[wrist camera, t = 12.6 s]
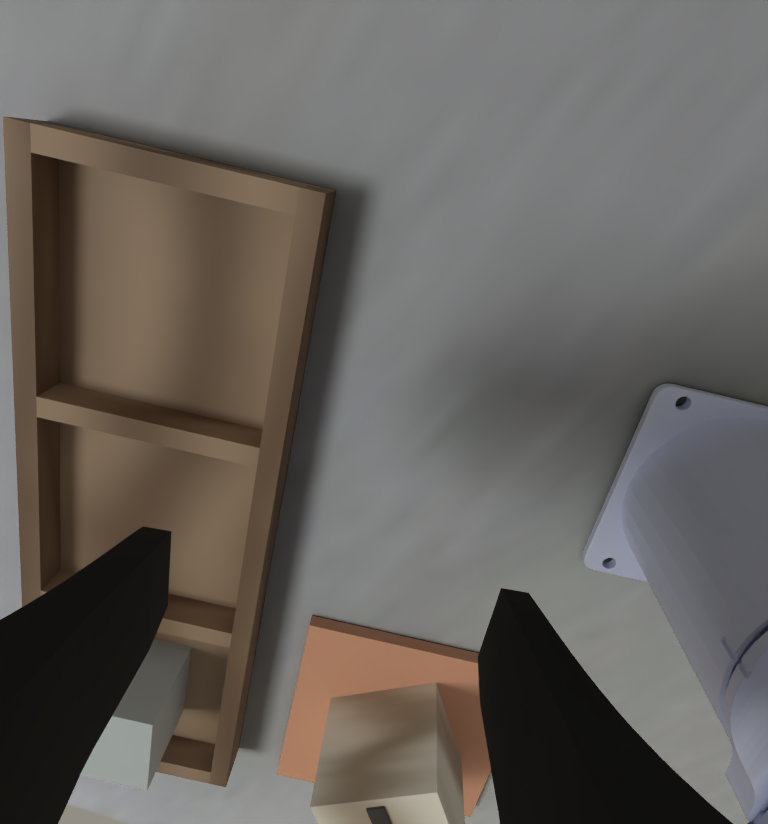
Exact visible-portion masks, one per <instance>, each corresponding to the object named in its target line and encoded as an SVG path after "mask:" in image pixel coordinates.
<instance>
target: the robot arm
mask: <svg viewBox="0 0 768 824" xmlns="http://www.w3.org/2000/svg"><path fill="white" fill-rule="evenodd" d="M681 397H687V400H686V402H685V403H684V404H683V405H681V406H675V404H676V401H677V400H678V399H679V398H681ZM171 532H172V531H167V530H161V529H155V528H150V527H144V526H143V527H141V528H140V529H138V530H137V531H135V532H134V533H132V534H131V535H129V536H128V537H127V538H125V539H124V540H122V541H121V542H120V543H118V544H117V545H115V546H114V547H113V548H111V549H110V550H108V551H107V552H106V553H104V554H103V555H101V556H100V557H99V558H97V559H96V560H94V561H93V562H91V563H90V564H89V565H87V566H86V567H84V568H83V569H81V570H80V571H78V572H77V573H75V574H74V575H72V576H71V577H69V578H68V579H66V580H65V581H63V582H62V583H60V584H59V585H57V586H56V587H54V588H53V589H51V590H49V591H48V592H46V593H45V594H43V595H41V596H40V597H38V598H36V599H35V600H33V601H32V602H30V603H28V604H27V605H25V606H23V607H22V608H20V609H19V610H17V611H15V612H13V613H12V614H10V615H8V616H6V617H5V618H3V619H1V620H0V824H58V822H59V820H60V818H61V816H62V814H63V811H64V809H65V807H66V805H67V803H68V800H69V798H70V796H71V794H72V791H73V789H74V787H75V785H76V783H77V780H78V778H79V776H80V774H81V772H82V770H83V768H84V766H85V764H86V762H87V760H88V758H89V756H90V755H91V753H92V751H93V749H94V747H95V745H96V744H97V742H98V740H99V738H100V737H101V735H102V733H103V731H104V729H105V728H106V726H107V724H108V722H109V721H110V719H111V717H112V715H113V714H114V712H115V710H116V708H117V707H118V705H119V703H120V701H121V700H122V698H123V696H124V694H125V693H126V691H127V689H128V687H129V685H130V684H131V682H132V680H133V678H134V677H135V675H136V673H137V671H138V669H139V668H140V666H141V664H142V662H143V660H144V659H145V657H146V655H147V653H148V651H149V649H150V647H151V645H152V642H153V640H154V638H155V636H156V633H157V631H158V628H159V626H160V624H161V621H162V619H163V616H164V614H165V611H166V609H167V606H168V592H169V572H170V552H171ZM582 558H583V561H584V564H585V565H586V566H587V567H588V568H589V569H592V570H596V571H600V572H604V573H609V574H613V575H618V576H622V577H626V578H631V579H635V580H639V581H644V582H648V583H649V585H650V587H651V589H652V591H653V593H654V595H655V596H656V598H657V600H658V602H659V604H660V606H661V608H662V610H663V612H664V614H665V616H666V618H667V620H668V622H669V624H670V626H671V627H672V629H673V631H674V633H675V635H676V637H677V639H678V641H679V643H680V645H681V647H682V649H683V651H684V653H685V655H686V656H687V658H688V660H689V662H690V664H691V666H692V668H693V670H694V672H695V674H696V676H697V678H698V680H699V682H700V684H701V685H702V687H703V689H704V691H705V693H706V695H707V697H708V699H709V701H710V703H711V705H712V707H713V709H714V711H715V713H716V715H717V716H718V718H719V720H720V722H721V724H722V726H723V728H724V730H725V732H726V734H727V736H728V737H729V740H730V743H731V746H732V759H731V763H730V765H729V767H728V768H727V770H726V773H725V774H726V776H727V778H728V781H729V783H730V785H731V787H732V789H733V791H734V793H735V795H736V797H737V799H738V801H739V803H740V805H741V808H742V810H743V812H744V814H745V816H746V818H747V820H748V821H750V822H749V823H748V824H768V406H764V405H760V404H756V403H752V402H747V401H743V400H739V399H735V398H730V397H726V396H722V395H718V394H713V393H709V392H705V391H701V390H696V389H692V388H688V387H684V386H679V385H675V384H668V383H666V384H662V385H660V386H658V387H657V388H656V389H655V390H654V391H653V393H652V395H651V397H650V399H649V402H648V404H647V406H646V408H645V411H644V413H643V415H642V418H641V420H640V422H639V424H638V427H637V429H636V431H635V434H634V436H633V438H632V440H631V443H630V445H629V447H628V450H627V452H626V454H625V456H624V459H623V461H622V463H621V466H620V468H619V470H618V472H617V475H616V477H615V479H614V482H613V484H612V486H611V488H610V491H609V493H608V495H607V498H606V500H605V502H604V504H603V507H602V509H601V511H600V514H599V516H598V518H597V520H596V523H595V525H594V527H593V530H592V532H591V534H590V536H589V539H588V541H587V543H586V546H585V548H584V550H583V553H582ZM607 558H613V559H612V560H611V561H610V562H603V561H604V560H605V559H607ZM478 676H479V695H480V707H481V713H482V719H483V725H484V731H485V737H486V743H487V749H488V754H489V760H490V766H491V771H492V777H493V783H494V789H495V794H496V800H497V806H498V811H499V819H500V824H732V823H731V822H730V821H729V820H728V819H727V818H725V817H724V816H723V815H722V814H721V813H720V812H719V811H717V810H716V809H715V808H714V807H713V806H712V805H710V804H709V803H708V802H707V801H706V800H705V799H704V798H703V797H702V796H701V795H699V794H698V793H697V792H696V791H695V790H694V789H693V788H692V787H691V786H690V785H689V784H688V783H686V782H685V781H684V780H683V779H682V778H681V777H680V776H679V775H678V774H677V773H676V772H675V771H674V770H673V769H672V768H671V767H670V766H669V765H668V764H667V763H666V762H664V761H663V760H662V759H661V758H660V757H659V756H658V754H657V753H656V752H655V751H654V750H653V749H652V748H651V747H650V746H649V745H648V744H647V743H646V742H645V741H644V740H643V739H642V738H641V737H640V736H639V734H638V733H637V732H636V731H635V730H634V729H633V728H632V727H631V726H630V725H629V724H628V723H627V721H626V720H625V719H624V718H623V717H622V716H621V715H620V714H619V712H618V711H617V710H616V709H615V708H614V706H613V705H612V704H611V703H610V702H609V700H608V699H607V698H606V697H605V696H604V694H603V693H602V692H601V691H600V690H599V688H598V687H597V686H596V685H595V683H594V682H593V681H592V680H591V678H590V677H589V676H588V675H587V673H586V672H585V671H584V669H583V668H582V667H581V665H580V664H579V663H578V661H577V660H576V659H575V657H574V656H573V655H572V653H571V652H570V651H569V649H568V648H567V647H566V645H565V644H564V642H563V641H562V640H561V638H560V637H559V635H558V634H557V633H556V631H555V630H554V628H553V627H552V626H551V624H550V623H549V621H548V620H547V618H546V617H545V616H544V614H543V613H542V611H541V610H540V608H539V607H538V606H537V604H536V603H535V601H534V600H533V598H532V597H531V596H530V594H529V593H526V592H520V591H514V590H508V589H503V588H501V590H500V593H499V596H498V599H497V602H496V605H495V608H494V611H493V614H492V617H491V620H490V623H489V626H488V629H487V632H486V635H485V637H484V640H483V643H482V646H481V649H480V652H479V655H478Z"/></svg>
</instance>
